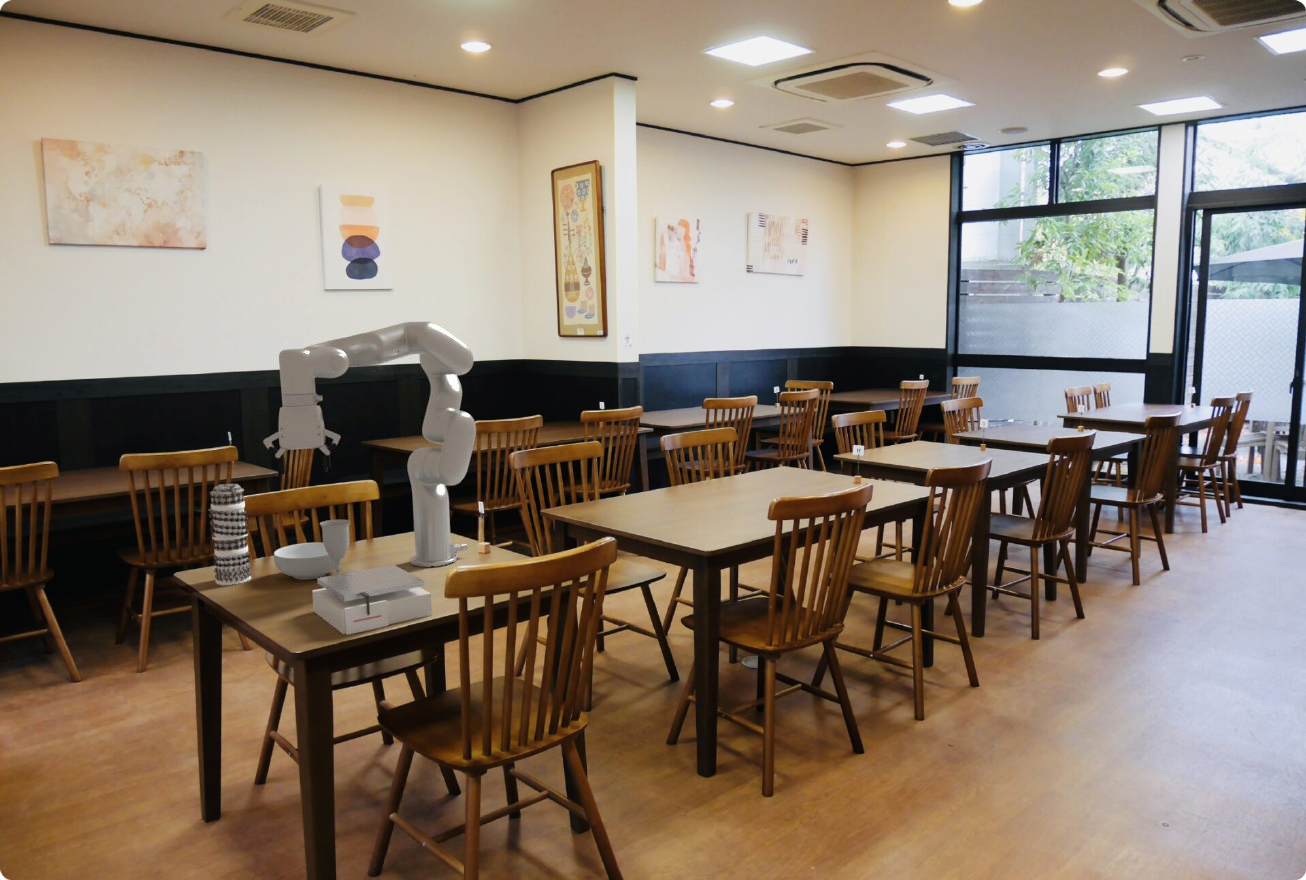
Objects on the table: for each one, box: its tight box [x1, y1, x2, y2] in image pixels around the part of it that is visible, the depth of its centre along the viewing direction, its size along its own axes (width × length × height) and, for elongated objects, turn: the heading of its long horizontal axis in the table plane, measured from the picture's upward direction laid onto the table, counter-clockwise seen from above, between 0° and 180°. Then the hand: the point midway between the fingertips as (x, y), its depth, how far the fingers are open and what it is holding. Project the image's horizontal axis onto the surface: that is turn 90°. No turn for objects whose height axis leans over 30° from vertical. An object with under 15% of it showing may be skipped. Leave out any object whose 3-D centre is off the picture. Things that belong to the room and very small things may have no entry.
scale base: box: [311, 587, 433, 635], centre depth 209 cm, size 20×21×6 cm
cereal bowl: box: [273, 542, 343, 581], centre depth 242 cm, size 17×17×7 cm
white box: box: [316, 564, 425, 615], centre depth 208 cm, size 18×21×6 cm
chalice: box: [319, 519, 351, 575], centre depth 223 cm, size 7×7×18 cm
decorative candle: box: [207, 483, 252, 586], centre depth 237 cm, size 9×9×25 cm
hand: (304, 472), depth 222 cm, fingers open, 9 cm apart
